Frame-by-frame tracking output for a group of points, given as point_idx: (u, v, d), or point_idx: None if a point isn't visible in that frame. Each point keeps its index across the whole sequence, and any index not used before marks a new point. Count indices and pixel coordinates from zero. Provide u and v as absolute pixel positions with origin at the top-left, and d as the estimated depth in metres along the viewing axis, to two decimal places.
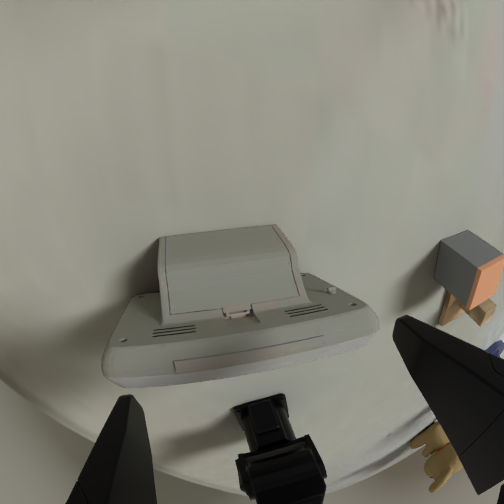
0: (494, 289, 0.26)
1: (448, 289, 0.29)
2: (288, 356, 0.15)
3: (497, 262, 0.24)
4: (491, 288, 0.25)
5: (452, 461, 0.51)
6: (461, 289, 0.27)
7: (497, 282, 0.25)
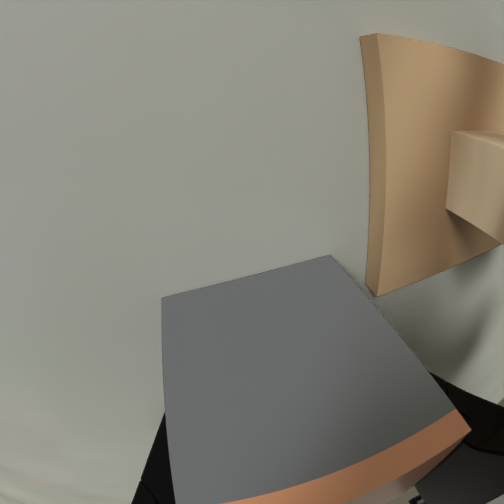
0: (420, 469, 0.04)
1: None
2: None
3: None
4: (386, 492, 0.04)
5: None
6: None
7: (381, 488, 0.04)
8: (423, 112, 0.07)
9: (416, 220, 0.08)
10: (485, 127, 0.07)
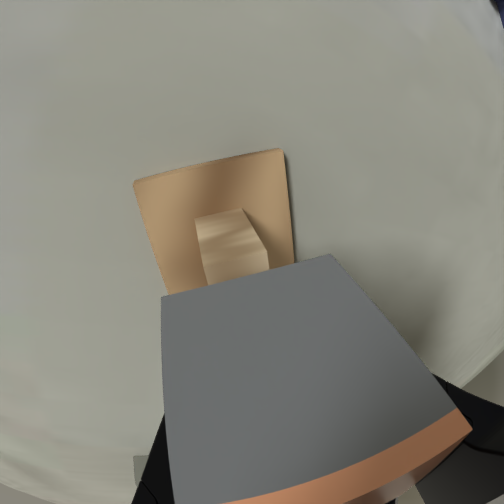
0: (421, 469, 0.04)
1: None
2: None
3: None
4: (386, 492, 0.04)
5: None
6: None
7: (382, 488, 0.04)
8: (169, 215, 0.16)
9: (182, 267, 0.17)
10: (231, 207, 0.16)
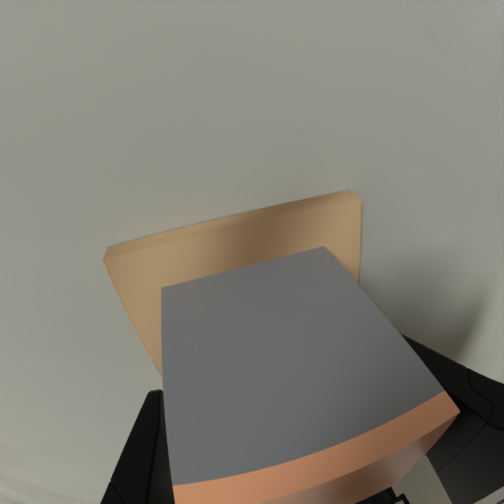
0: (410, 450, 0.04)
1: None
2: None
3: None
4: (378, 474, 0.05)
5: None
6: None
7: (371, 467, 0.04)
8: None
9: None
10: None
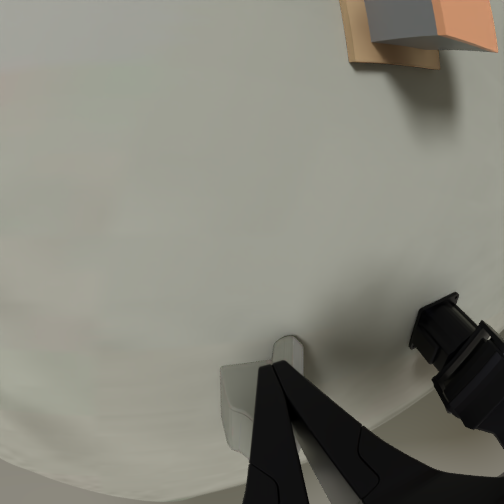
0: None
1: (451, 49, 0.13)
2: None
3: None
4: None
5: None
6: (460, 46, 0.11)
7: None
8: None
9: (367, 26, 0.14)
10: None
